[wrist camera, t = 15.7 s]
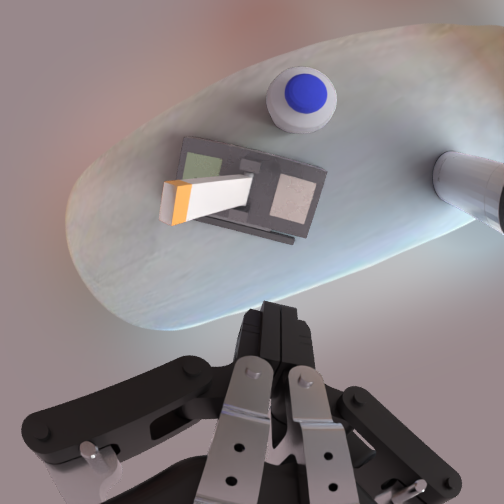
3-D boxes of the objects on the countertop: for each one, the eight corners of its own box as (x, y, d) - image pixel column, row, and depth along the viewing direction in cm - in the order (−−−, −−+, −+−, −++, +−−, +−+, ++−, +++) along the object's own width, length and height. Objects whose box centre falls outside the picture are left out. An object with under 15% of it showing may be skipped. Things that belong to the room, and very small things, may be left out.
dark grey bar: (296, 231, 43) (296, 233, 42) (292, 243, 44) (292, 245, 43) (185, 203, 42) (184, 204, 42) (183, 215, 43) (182, 217, 43)
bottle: (289, 143, 38) (302, 149, 19) (259, 109, 36) (244, 83, 18) (324, 117, 35) (368, 102, 17) (294, 82, 34) (312, 36, 15)
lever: (256, 174, 35) (178, 181, 22) (248, 206, 37) (170, 229, 24) (245, 171, 35) (164, 177, 22) (238, 202, 37) (158, 223, 24)
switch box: (322, 168, 39) (332, 175, 32) (303, 229, 43) (308, 247, 36) (192, 136, 38) (176, 137, 32) (180, 198, 42) (163, 210, 36)
